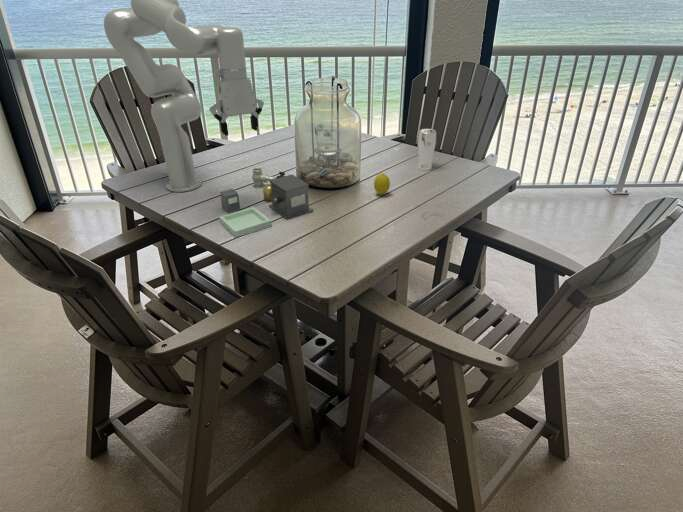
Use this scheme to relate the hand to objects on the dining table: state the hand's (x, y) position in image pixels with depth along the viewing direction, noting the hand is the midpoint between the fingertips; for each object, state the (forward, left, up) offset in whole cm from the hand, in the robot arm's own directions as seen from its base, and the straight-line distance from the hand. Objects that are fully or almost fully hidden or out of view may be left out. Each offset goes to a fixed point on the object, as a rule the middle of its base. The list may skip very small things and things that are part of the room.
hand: (240, 132), depth 142 cm
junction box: (+12, +9, -25) cm, 29 cm away
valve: (-9, +12, -25) cm, 29 cm away
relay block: (0, -7, -25) cm, 26 cm away
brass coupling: (+1, +7, -25) cm, 26 cm away
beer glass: (+11, +72, -25) cm, 77 cm away
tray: (+13, -8, -25) cm, 29 cm away
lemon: (+21, +41, -25) cm, 53 cm away
